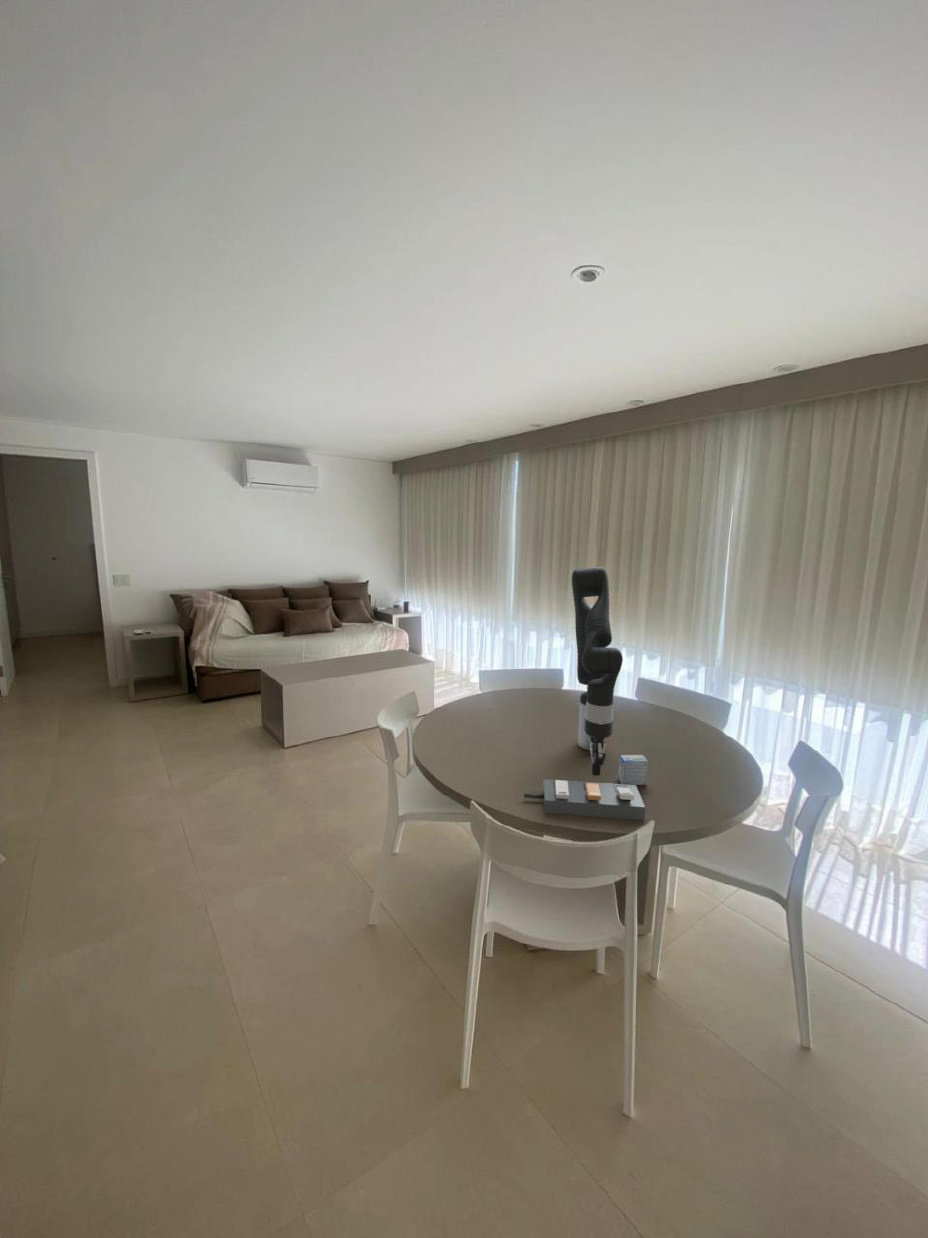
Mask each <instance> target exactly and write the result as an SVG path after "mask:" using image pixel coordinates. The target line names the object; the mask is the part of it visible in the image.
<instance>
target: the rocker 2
mask: <svg viewBox="0 0 928 1238" xmlns="http://www.w3.org/2000/svg"><path fill="white" fill-rule="evenodd" d="M596 783H597V782H595V783H586V792H587V797H588V799H589V800H601V793H600V789H599V785H598V784H596Z"/></svg>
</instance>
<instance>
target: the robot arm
mask: <svg viewBox="0 0 928 1238" xmlns="http://www.w3.org/2000/svg"><path fill="white" fill-rule="evenodd" d="M571 574H572V575H571V590H572V597H573V602H574V614H575V616H574V618H575V619H574V620H575V621H574V622H575V624H574V625H575V639H576V648H577V649H576V650H577V659H576V660H577V663H576V665H577V666H576V671H577V672H576V676H577V681H578V683H579V684H580V685H584V686H586V688H587V689H586V691H584V692H583V693H581V694H580V695H579V715H578V717H579V718H578V719H579V720H578V736H577V737H578V738H577V740H578V741H577V746H579V747H580V748H581V749H583V750H587V751H590V760H591V774H592V776H595V777H599V776H601V766H603V765H604V762H605V759H606V755H607V754H606V753H605V749H606V746H607V743H606V741H605V739H606V738H610V737H611V736H612V735H613V727H614V726H613V724H614V691H615V687H616V682H617V679H618V676H619V674H620V671H621V669H622V665H623V661H624V659H623V658H624V657H623V655H622V652H621V651H620V649H618V648H616V647H609V646H610V645H611V643H612V640H613V636H612V635H613V634H612V630H611V623H610V586H609V584H610V582H609V575H608V572H607V570H606V568H605V567H603V566H595V567H593V566H592V567H582V568H577V569H574V570H573V571H572V573H571ZM590 597H591V598H593V597H597V600H596V601H595V603H594V604H593V606H592V607H591V606H590V605H589V604H588V603H587V600H586V598H590Z"/></svg>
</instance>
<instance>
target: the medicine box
mask: <svg viewBox="0 0 928 1238" xmlns="http://www.w3.org/2000/svg"><path fill="white" fill-rule="evenodd" d="M618 762H619V763H618V774H617V775H618V776H617V778H618V781H619V782H620V784H626V785H636V786H647V779H648V771H649V770H648V767H649V760H647V758H646V757H645V756H644V755H643V754H622V755H621V754H620V755H619V760H618Z"/></svg>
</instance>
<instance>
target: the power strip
mask: <svg viewBox="0 0 928 1238" xmlns="http://www.w3.org/2000/svg"><path fill="white" fill-rule="evenodd" d="M555 780H556V779H546V778H544V779H543V781H542V782H543V785H542V787H543V789H542V794H538V793H526V792H525V793H523V797H524V798H527V799H537V800H538V799H541V800H543V807H544V810H543V811H544V813H545V814H556V815H557V814H558V815H571V816H585V817H599V818H612V819H624V820H641V821H644V820H645V814H646V806H645V804H644V801H643V799H642V796H641V794H640V791H639V789H638V787H637V785H626V784H621V783H609V782H607V783H606V782H593V781H578V780H577V781H576V780H567V781H568V790H569V799H562V798H556V789H555ZM563 781H565V780H563ZM586 783H596V784H598V785H599V789H600V793H601V800H589V799H588V797H587V792H586ZM617 787H619V788H629V789H630V790H631V792H632V793H633V795H634V800H627V799H620V797H619V796H618V794H617V792H616V791H617Z"/></svg>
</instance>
